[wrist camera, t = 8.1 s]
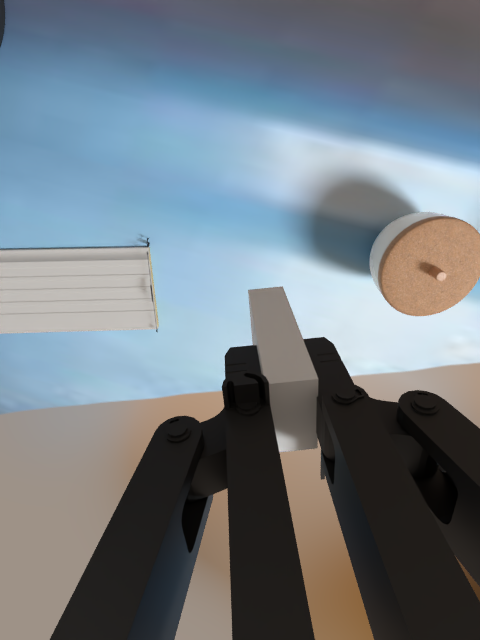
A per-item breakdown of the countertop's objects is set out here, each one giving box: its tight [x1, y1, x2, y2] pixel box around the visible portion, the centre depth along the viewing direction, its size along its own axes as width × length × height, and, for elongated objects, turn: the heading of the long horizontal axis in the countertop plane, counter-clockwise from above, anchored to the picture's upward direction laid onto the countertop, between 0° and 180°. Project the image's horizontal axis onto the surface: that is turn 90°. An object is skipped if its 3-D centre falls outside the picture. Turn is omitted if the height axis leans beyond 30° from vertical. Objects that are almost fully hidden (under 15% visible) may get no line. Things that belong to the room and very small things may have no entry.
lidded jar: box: [369, 212, 480, 316], centre depth 42 cm, size 11×11×9 cm
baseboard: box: [0, 238, 159, 333], centre depth 45 cm, size 31×3×12 cm
